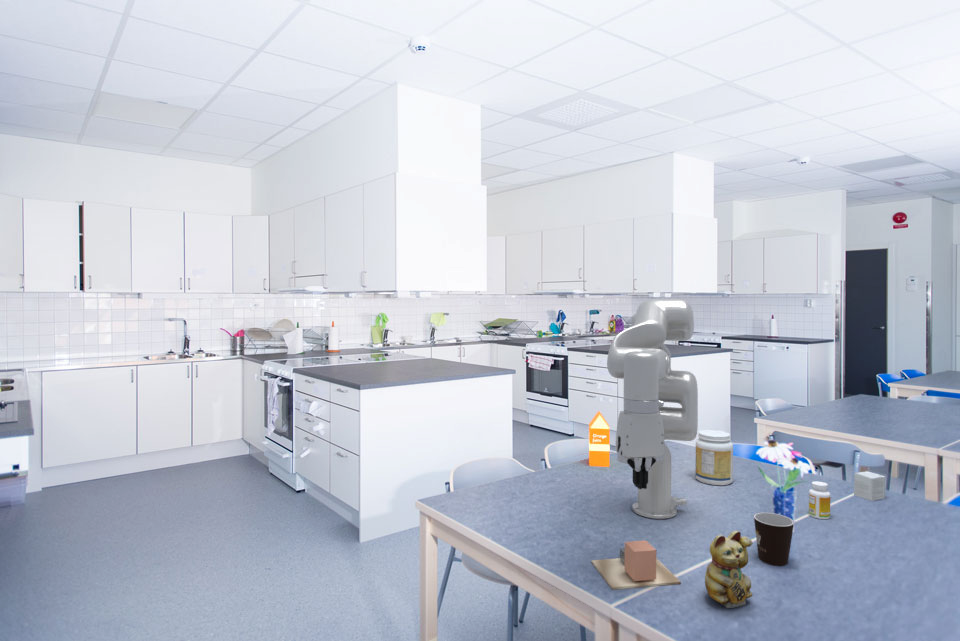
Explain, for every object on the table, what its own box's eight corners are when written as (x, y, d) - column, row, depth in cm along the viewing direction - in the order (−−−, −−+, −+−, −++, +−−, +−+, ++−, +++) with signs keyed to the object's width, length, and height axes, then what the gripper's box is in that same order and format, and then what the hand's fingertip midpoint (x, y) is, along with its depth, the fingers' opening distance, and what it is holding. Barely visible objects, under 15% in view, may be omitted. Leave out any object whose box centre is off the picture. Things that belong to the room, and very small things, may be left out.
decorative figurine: (724, 614, 112) (724, 540, 112) (693, 594, 120) (693, 525, 119) (758, 604, 116) (759, 532, 116) (726, 585, 124) (727, 518, 123)
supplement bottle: (832, 515, 164) (832, 483, 163) (827, 521, 160) (828, 487, 159) (811, 511, 167) (811, 479, 167) (806, 516, 163) (807, 483, 163)
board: (653, 557, 137) (653, 555, 137) (680, 583, 124) (680, 581, 124) (591, 562, 135) (591, 560, 135) (612, 589, 122) (612, 587, 122)
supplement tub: (700, 473, 205) (700, 427, 204) (736, 479, 198) (736, 432, 197) (691, 482, 195) (691, 433, 194) (728, 488, 188) (729, 438, 187)
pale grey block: (867, 492, 184) (867, 470, 183) (885, 499, 178) (886, 476, 178) (853, 495, 182) (853, 472, 181) (871, 501, 176) (872, 478, 176)
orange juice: (589, 466, 214) (589, 414, 214) (588, 459, 223) (588, 409, 223) (610, 466, 213) (610, 414, 213) (608, 460, 222) (608, 410, 221)
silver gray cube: (630, 559, 135) (630, 547, 135) (634, 564, 132) (634, 552, 132) (619, 560, 135) (619, 548, 134) (624, 565, 132) (624, 553, 132)
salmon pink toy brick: (645, 568, 130) (646, 540, 129) (656, 579, 124) (656, 550, 124) (624, 570, 129) (624, 541, 129) (634, 581, 124) (634, 551, 123)
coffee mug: (792, 571, 130) (792, 529, 130) (751, 562, 134) (751, 521, 134) (794, 552, 140) (795, 513, 139) (756, 544, 144) (757, 506, 144)
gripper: (663, 402, 130) (663, 480, 131) (602, 404, 128) (602, 483, 129) (680, 408, 123) (679, 490, 124) (615, 410, 121) (615, 494, 121)
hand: (640, 486), depth 126 cm, fingers closed
